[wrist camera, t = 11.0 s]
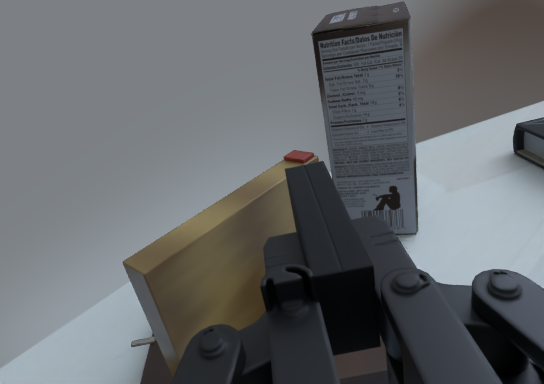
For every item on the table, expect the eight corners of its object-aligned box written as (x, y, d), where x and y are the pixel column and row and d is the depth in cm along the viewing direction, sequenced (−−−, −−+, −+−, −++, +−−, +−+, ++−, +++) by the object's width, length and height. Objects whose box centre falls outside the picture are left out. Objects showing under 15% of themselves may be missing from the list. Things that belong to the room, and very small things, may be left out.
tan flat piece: (196, 403, 20) (141, 269, 17) (175, 385, 21) (119, 256, 18) (335, 265, 28) (318, 151, 24) (313, 258, 29) (294, 148, 25)
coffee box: (346, 184, 42) (325, 13, 34) (414, 180, 40) (406, -2, 33) (337, 237, 34) (307, 30, 27) (420, 235, 32) (412, 12, 25)
